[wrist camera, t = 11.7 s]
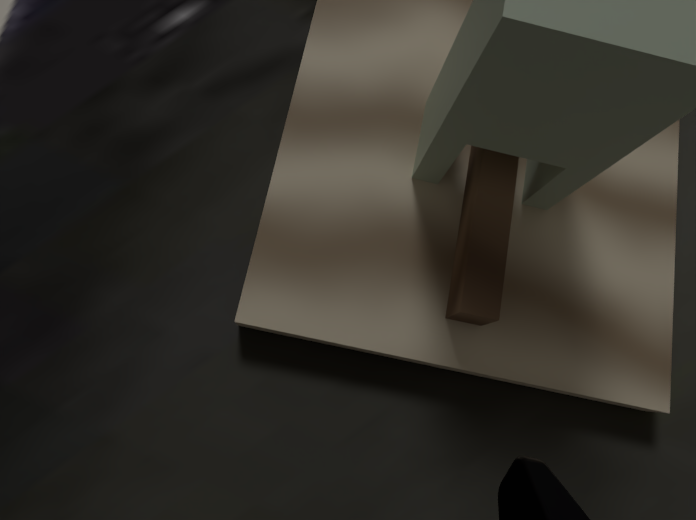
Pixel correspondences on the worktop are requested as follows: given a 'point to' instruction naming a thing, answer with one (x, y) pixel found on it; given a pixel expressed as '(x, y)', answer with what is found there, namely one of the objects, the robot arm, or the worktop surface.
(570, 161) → the grey-green notched block
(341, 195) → the cleat board
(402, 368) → the worktop surface
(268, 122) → the worktop surface
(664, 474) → the worktop surface
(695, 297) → the worktop surface
